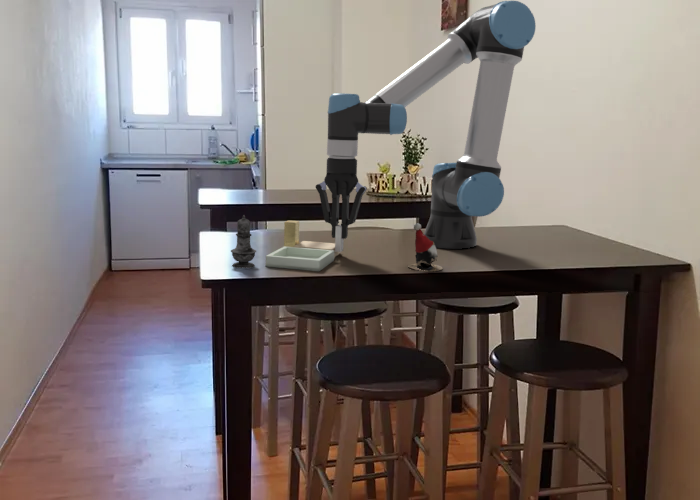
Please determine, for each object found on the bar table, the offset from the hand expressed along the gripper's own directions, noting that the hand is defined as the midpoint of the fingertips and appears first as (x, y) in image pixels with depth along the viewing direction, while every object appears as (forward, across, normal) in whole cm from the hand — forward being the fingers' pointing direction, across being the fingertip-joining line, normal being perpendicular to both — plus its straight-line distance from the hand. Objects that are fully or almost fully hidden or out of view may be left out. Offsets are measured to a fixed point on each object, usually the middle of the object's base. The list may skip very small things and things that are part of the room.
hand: (339, 250), depth 179 cm
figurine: (+2, -23, +5) cm, 23 cm away
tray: (+1, +6, +12) cm, 14 cm away
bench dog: (+1, +13, 0) cm, 13 cm away
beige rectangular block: (+2, +6, 0) cm, 6 cm away
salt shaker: (+2, +18, +20) cm, 27 cm away
